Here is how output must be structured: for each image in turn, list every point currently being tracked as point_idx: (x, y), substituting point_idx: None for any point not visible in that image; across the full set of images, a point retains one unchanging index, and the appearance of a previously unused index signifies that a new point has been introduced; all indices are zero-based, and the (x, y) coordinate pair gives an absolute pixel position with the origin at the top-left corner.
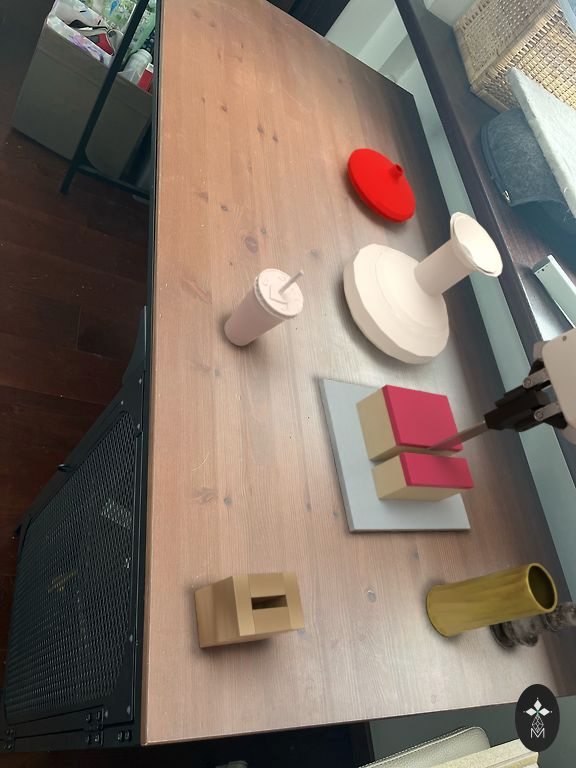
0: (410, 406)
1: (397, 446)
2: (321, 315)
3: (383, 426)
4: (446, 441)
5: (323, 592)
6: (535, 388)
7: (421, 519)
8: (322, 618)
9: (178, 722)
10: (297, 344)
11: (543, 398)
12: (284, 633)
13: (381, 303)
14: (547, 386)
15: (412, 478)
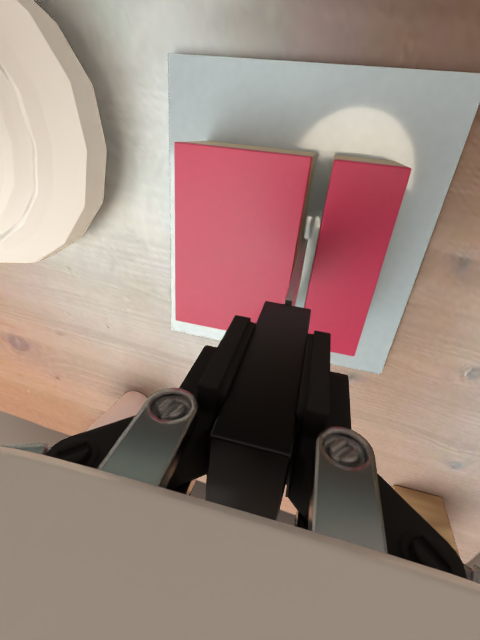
0: (211, 283)
1: None
2: (72, 276)
3: None
4: (295, 302)
5: (433, 429)
6: (194, 468)
7: (411, 237)
8: (459, 441)
9: (461, 560)
10: (129, 334)
11: (245, 486)
12: (452, 534)
13: (13, 242)
14: (179, 456)
15: (345, 352)
